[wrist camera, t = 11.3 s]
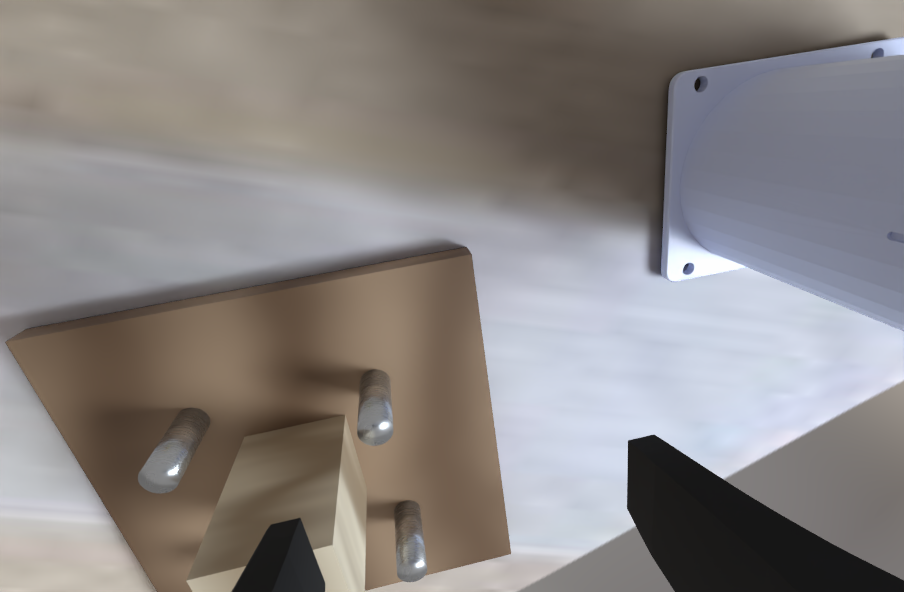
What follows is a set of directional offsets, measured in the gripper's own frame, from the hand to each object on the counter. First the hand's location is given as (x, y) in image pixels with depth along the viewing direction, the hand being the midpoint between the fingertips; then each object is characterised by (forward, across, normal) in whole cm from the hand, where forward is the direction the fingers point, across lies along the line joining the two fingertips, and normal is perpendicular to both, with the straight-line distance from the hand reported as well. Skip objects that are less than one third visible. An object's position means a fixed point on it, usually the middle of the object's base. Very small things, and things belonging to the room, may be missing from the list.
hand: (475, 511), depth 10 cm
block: (+8, +6, +5) cm, 11 cm away
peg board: (+9, +6, +5) cm, 12 cm away
